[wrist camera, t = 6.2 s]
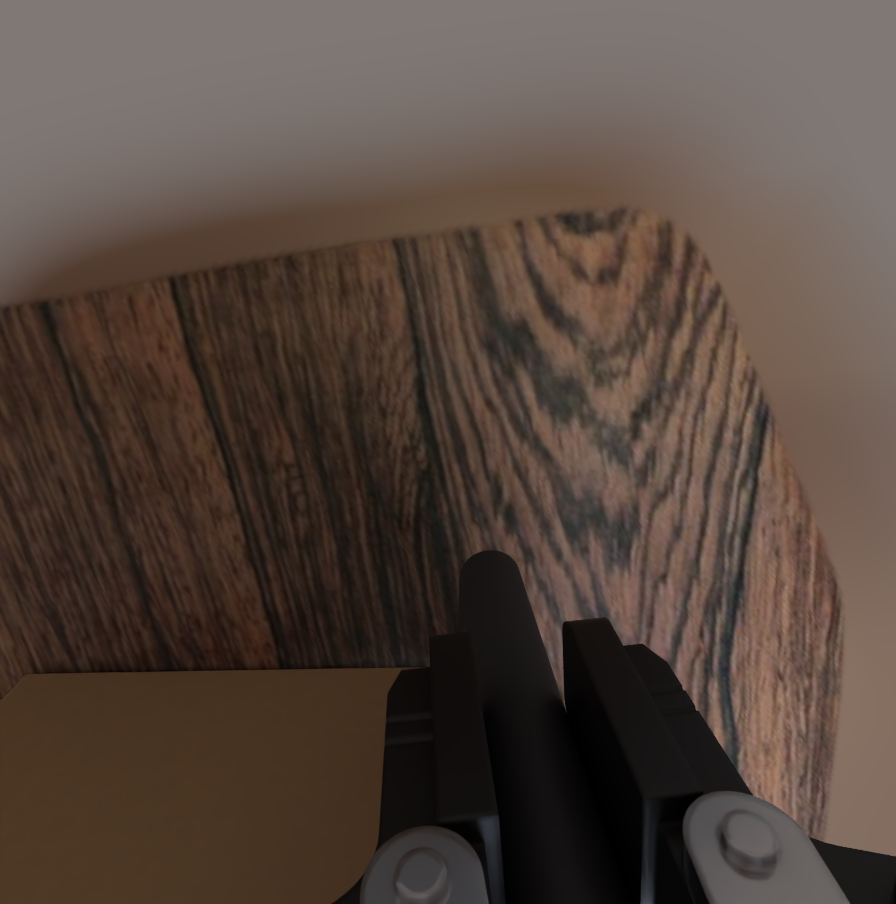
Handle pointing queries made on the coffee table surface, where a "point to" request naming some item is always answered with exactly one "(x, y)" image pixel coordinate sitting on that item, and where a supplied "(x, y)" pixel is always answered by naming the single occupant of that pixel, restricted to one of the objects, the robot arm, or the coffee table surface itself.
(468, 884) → the robot arm
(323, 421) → the coffee table surface
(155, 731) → the cupboard door
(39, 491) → the coffee table surface
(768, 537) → the coffee table surface
